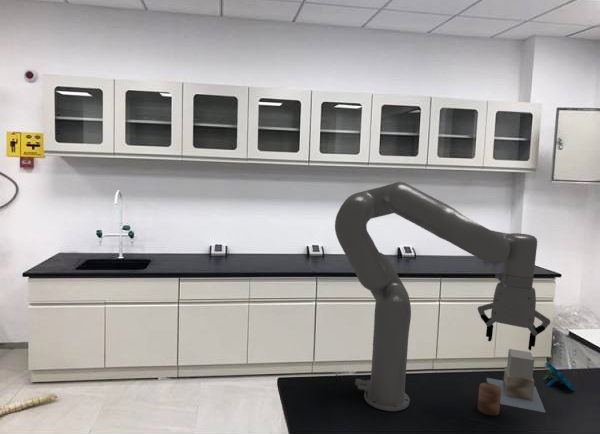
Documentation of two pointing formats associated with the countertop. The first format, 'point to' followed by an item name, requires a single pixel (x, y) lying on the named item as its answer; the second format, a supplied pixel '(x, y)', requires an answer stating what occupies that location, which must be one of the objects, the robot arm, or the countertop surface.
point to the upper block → (520, 364)
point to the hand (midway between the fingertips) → (509, 344)
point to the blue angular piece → (556, 376)
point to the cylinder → (489, 399)
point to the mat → (517, 402)
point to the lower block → (518, 387)
